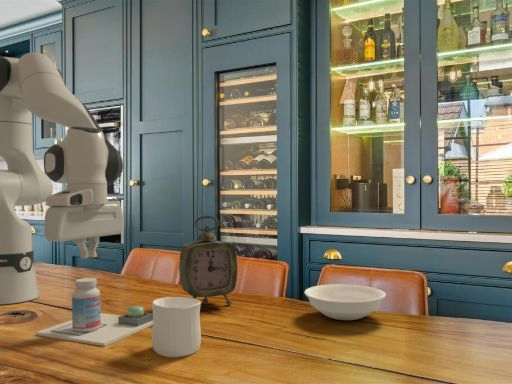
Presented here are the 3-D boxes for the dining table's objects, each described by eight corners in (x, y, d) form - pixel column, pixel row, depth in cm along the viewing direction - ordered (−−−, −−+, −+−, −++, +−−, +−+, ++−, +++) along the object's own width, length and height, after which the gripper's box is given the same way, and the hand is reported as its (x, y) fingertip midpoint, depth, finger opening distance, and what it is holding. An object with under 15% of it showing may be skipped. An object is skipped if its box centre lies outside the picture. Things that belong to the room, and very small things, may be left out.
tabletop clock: (186, 312, 120) (185, 217, 120) (178, 304, 128) (176, 215, 128) (237, 306, 126) (236, 215, 126) (226, 299, 134) (225, 214, 134)
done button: (125, 318, 109) (125, 308, 109) (134, 315, 112) (134, 305, 112) (137, 320, 108) (137, 310, 108) (146, 316, 111) (146, 306, 111)
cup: (193, 359, 87) (192, 308, 87) (143, 357, 88) (142, 306, 88) (207, 343, 96) (206, 296, 96) (161, 341, 98) (161, 295, 98)
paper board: (35, 334, 103) (35, 331, 103) (94, 314, 119) (94, 311, 119) (104, 346, 95) (104, 342, 95) (157, 322, 111) (157, 319, 111)
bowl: (391, 311, 118) (391, 287, 118) (378, 334, 100) (377, 305, 100) (318, 304, 127) (317, 281, 127) (293, 324, 109) (292, 297, 109)
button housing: (118, 323, 109) (118, 317, 109) (134, 317, 114) (134, 311, 114) (138, 326, 106) (138, 319, 106) (153, 319, 111) (153, 313, 111)
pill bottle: (91, 333, 101) (90, 282, 101) (66, 332, 102) (65, 282, 102) (106, 325, 107) (105, 277, 107) (82, 324, 108) (81, 276, 108)
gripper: (110, 196, 115) (111, 251, 115) (39, 198, 97) (40, 263, 97) (129, 196, 112) (130, 252, 112) (59, 198, 94) (60, 265, 94)
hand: (88, 257), depth 104 cm, fingers closed
